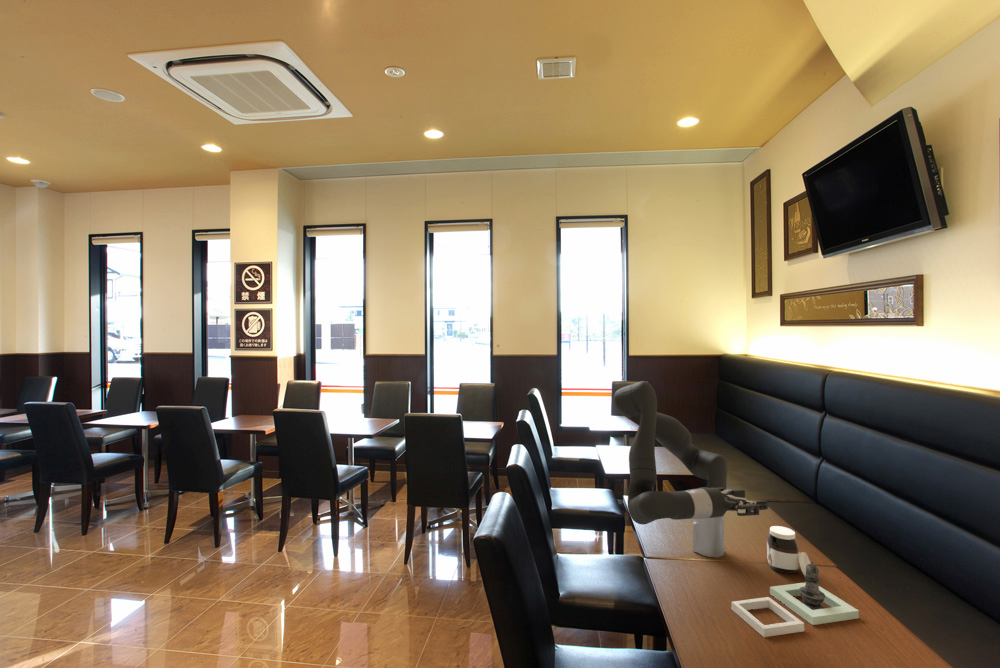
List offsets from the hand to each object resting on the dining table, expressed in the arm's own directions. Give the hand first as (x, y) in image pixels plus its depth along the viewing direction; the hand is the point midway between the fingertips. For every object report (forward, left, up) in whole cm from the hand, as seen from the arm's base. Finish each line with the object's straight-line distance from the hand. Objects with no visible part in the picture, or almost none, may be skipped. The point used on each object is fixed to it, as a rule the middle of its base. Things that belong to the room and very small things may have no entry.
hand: (755, 498), depth 126 cm
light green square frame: (+14, +5, -28) cm, 31 cm away
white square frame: (+3, -8, -28) cm, 29 cm away
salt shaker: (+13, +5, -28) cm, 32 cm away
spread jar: (+10, +24, -28) cm, 38 cm away
